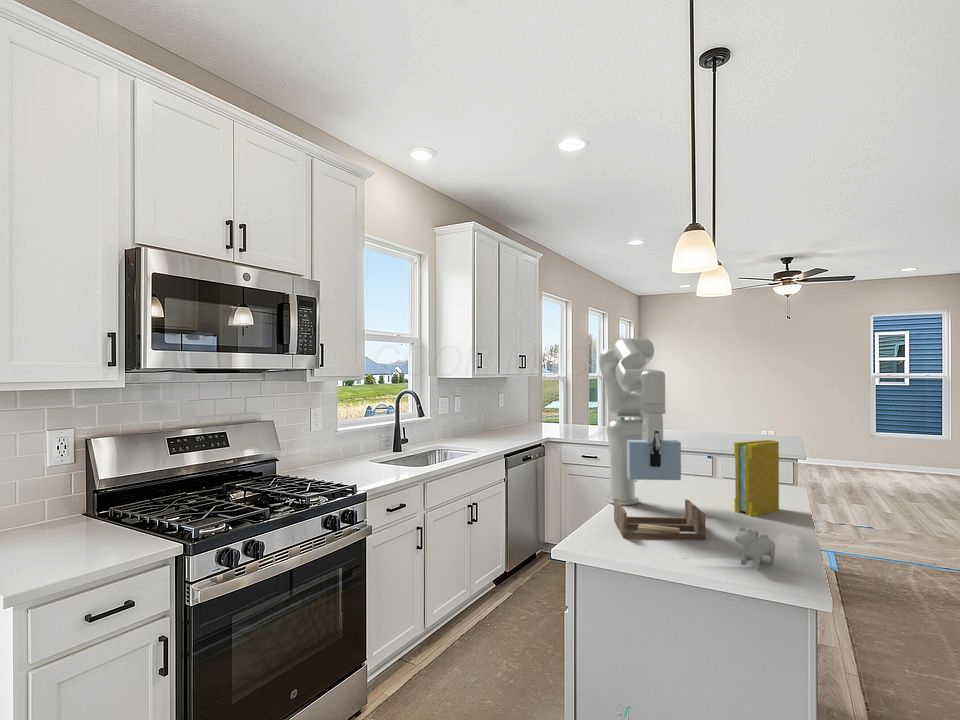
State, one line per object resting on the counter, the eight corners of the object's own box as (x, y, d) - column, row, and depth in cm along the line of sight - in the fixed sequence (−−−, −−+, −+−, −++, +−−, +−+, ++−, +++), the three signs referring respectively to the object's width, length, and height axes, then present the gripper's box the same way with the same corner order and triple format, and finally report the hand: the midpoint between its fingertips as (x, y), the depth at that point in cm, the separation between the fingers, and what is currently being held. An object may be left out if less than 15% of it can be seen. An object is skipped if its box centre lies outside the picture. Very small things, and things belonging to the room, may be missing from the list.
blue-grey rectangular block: (626, 476, 187) (626, 439, 186) (676, 476, 185) (676, 440, 185) (629, 479, 182) (629, 442, 181) (680, 480, 180) (680, 442, 180)
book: (750, 516, 199) (749, 445, 199) (734, 511, 205) (734, 442, 205) (783, 510, 206) (783, 441, 206) (767, 506, 212) (767, 439, 212)
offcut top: (639, 530, 178) (639, 523, 178) (679, 534, 174) (679, 528, 174) (637, 533, 175) (637, 527, 175) (678, 538, 170) (678, 531, 170)
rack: (614, 525, 188) (614, 498, 188) (688, 526, 186) (688, 499, 186) (623, 542, 170) (623, 512, 170) (705, 544, 168) (705, 514, 168)
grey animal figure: (729, 566, 151) (729, 526, 151) (761, 558, 157) (760, 519, 157) (747, 573, 146) (747, 531, 146) (779, 564, 152) (778, 524, 152)
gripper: (636, 406, 192) (636, 459, 192) (646, 411, 175) (647, 469, 175) (658, 406, 191) (659, 460, 192) (671, 411, 174) (671, 470, 175)
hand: (653, 464), depth 183 cm, fingers closed on blue-grey rectangular block, 5 cm apart
